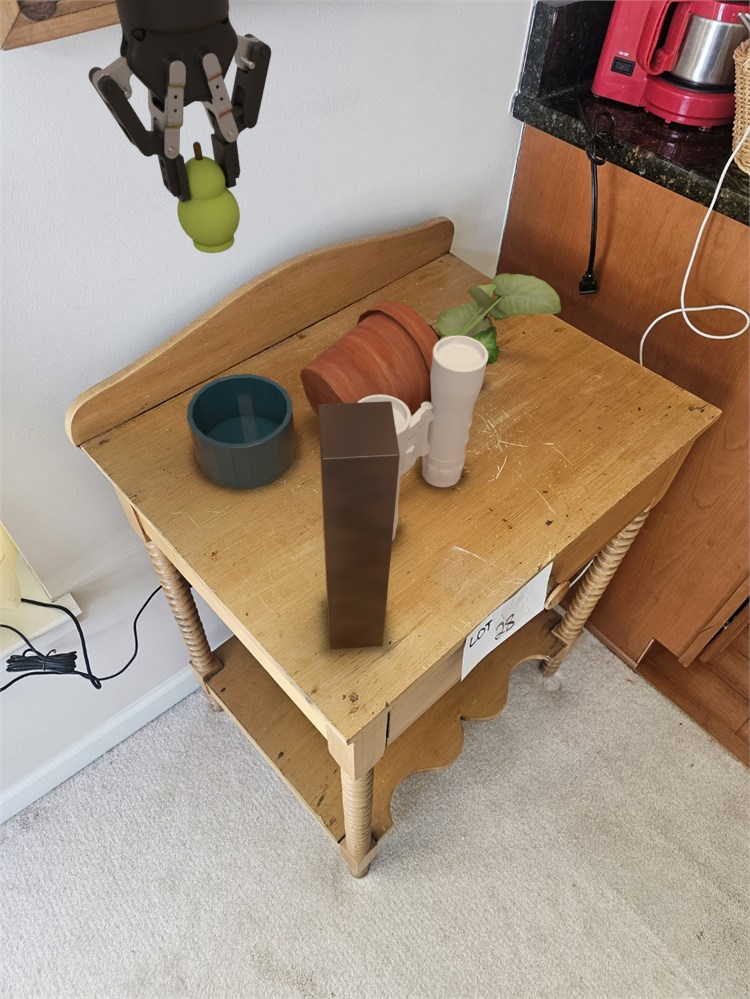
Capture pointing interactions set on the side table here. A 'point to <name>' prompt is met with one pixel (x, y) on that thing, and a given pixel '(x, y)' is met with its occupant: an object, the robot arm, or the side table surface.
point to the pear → (208, 206)
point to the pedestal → (357, 517)
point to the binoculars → (440, 414)
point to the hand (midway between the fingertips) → (204, 189)
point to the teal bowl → (242, 430)
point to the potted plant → (416, 343)
